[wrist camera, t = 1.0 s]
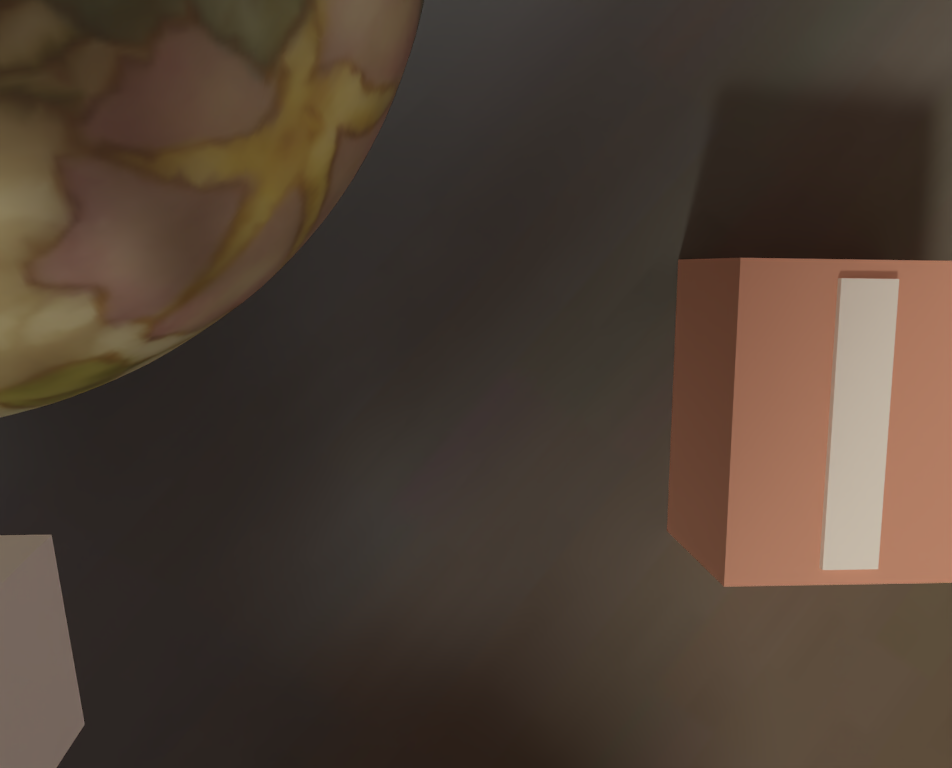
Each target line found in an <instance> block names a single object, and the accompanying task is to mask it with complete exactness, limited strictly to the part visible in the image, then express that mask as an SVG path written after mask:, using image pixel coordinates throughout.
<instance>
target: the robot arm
mask: <svg viewBox="0 0 952 768" xmlns="http://www.w3.org/2000/svg"><path fill="white" fill-rule="evenodd" d="M84 725H85V723H84V717H83V711H82V706H81V700H80V694H79V689H78V683H77V677H76V671H75V666H74V660H73V654H72V649H71V643H70V637H69V631H68V626H67V620H66V614H65V608H64V603H63V597H62V591H61V586H60V580H59V574H58V568H57V563H56V557H55V551H54V546H53V540H52V535H0V768H57V766H58V765H59V763H60V762H61V760H62V759H63V757H64V755H65V754H66V752H67V751H68V749H69V748H70V746H71V745H72V743H73V742H74V740H75V739H76V737H77V736H78V734H79V732H80V731H81V729H82V728H83V726H84Z"/></svg>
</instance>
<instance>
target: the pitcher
mask: <svg viewBox="0 0 952 768" xmlns="http://www.w3.org/2000/svg"><path fill="white" fill-rule="evenodd" d="M423 3H424V0H0V417H5V416H9V415H13V414H17V413H20V412H24V411H28V410H32V409H35V408H39V407H42V406H46V405H49V404H53V403H56V402H59V401H62V400H65V399H68V398H71V397H73V396H76V395H78V394H81V393H84V392H86V391H89V390H91V389H94V388H96V387H99V386H101V385H104V384H106V383H109V382H111V381H113V380H116V379H118V378H120V377H122V376H124V375H126V374H129V373H131V372H133V371H135V370H137V369H139V368H141V367H143V366H145V365H147V364H149V363H151V362H153V361H155V360H156V359H158V358H160V357H162V356H163V355H165V354H167V353H169V352H170V351H172V350H174V349H175V348H177V347H179V346H180V345H182V344H183V343H185V342H186V341H188V340H190V339H191V338H193V337H194V336H196V335H197V334H199V333H200V332H202V331H203V330H205V329H206V328H208V327H209V326H211V325H212V324H214V323H215V322H216V321H218V320H219V319H221V318H222V317H224V316H225V315H227V314H228V313H229V312H231V311H232V310H233V309H235V308H236V307H237V306H239V305H240V304H241V303H243V302H244V301H245V300H247V299H248V298H249V297H250V296H252V295H253V294H254V293H255V292H256V291H257V290H259V289H260V288H261V287H262V286H263V285H264V284H265V283H266V282H268V281H269V280H270V279H271V278H272V277H273V276H274V275H275V274H276V273H277V272H278V271H279V270H280V269H281V268H282V267H283V266H284V265H285V264H286V263H287V262H288V261H289V260H290V259H291V258H292V257H293V256H294V255H295V254H296V253H297V252H298V250H299V249H300V248H301V247H302V246H303V245H304V244H305V243H306V241H307V240H308V239H309V238H310V237H311V236H312V234H313V233H314V232H315V231H316V230H317V228H318V227H319V226H320V225H321V223H322V222H323V221H324V219H325V218H326V217H327V216H328V214H329V213H330V212H331V210H332V209H333V208H334V206H335V205H336V204H337V202H338V201H339V199H340V198H341V196H342V195H343V193H344V192H345V190H346V189H347V187H348V186H349V184H350V183H351V181H352V180H353V178H354V176H355V175H356V173H357V171H358V170H359V168H360V166H361V164H362V163H363V161H364V159H365V157H366V156H367V154H368V152H369V150H370V148H371V146H372V144H373V143H374V141H375V139H376V137H377V135H378V133H379V131H380V129H381V127H382V125H383V123H384V120H385V118H386V116H387V114H388V111H389V109H390V106H391V104H392V102H393V99H394V97H395V94H396V91H397V89H398V86H399V83H400V80H401V78H402V75H403V72H404V70H405V67H406V64H407V61H408V58H409V55H410V52H411V49H412V46H413V43H414V39H415V36H416V32H417V28H418V24H419V20H420V16H421V12H422V7H423Z"/></svg>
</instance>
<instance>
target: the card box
mask: <svg viewBox="0 0 952 768" xmlns="http://www.w3.org/2000/svg"><path fill="white" fill-rule="evenodd" d="M667 531H668V532H669V533H670V534H671V535H672V536H673V537H674V538H675V539H676V540H677V541H678V542H679V543H680V544H681V545H682V546H683V547H684V548H685V549H686V550H687V551H688V552H689V553H690V554H691V555H692V556H693V557H694V558H695V559H696V560H697V561H698V562H699V563H700V564H701V565H702V566H703V567H704V568H705V569H706V570H707V571H708V572H710V573H711V574H712V575H713V576H714V577H715V578H716V579H717V580H718V581H719V582H720V583H721V584H722V585H723V586H724V587H735V586H793V585H850V584H907V583H952V261H925V260H858V259H792V258H714V259H680V260H678V279H677V303H676V327H675V352H674V376H673V400H672V424H671V448H670V472H669V497H668V521H667Z"/></svg>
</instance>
